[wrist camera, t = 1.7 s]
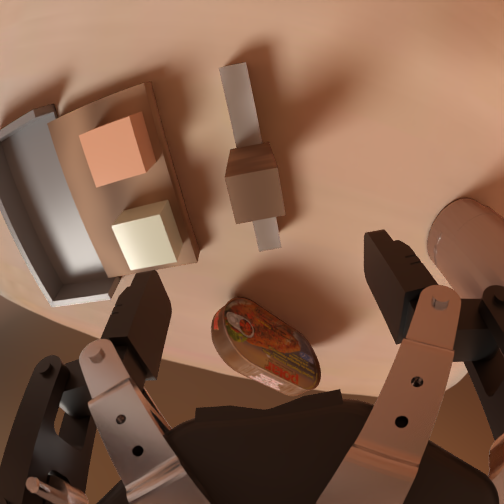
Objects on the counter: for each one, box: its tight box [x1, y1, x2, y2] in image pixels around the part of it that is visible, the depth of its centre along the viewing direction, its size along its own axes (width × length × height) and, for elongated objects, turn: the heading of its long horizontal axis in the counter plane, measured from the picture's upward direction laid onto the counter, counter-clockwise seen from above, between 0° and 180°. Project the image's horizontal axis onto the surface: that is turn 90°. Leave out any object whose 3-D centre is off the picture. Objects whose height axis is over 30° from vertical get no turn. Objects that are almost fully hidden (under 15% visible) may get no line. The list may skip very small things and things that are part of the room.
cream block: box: [112, 200, 183, 270], centre depth 26 cm, size 4×4×3 cm
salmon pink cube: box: [79, 111, 156, 188], centre depth 22 cm, size 4×4×3 cm
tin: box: [211, 298, 321, 396], centre depth 33 cm, size 15×3×8 cm, turn 47°
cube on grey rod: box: [219, 62, 285, 252], centre depth 22 cm, size 3×16×10 cm, turn 11°
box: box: [0, 104, 121, 307], centre depth 27 cm, size 9×20×4 cm, turn 11°
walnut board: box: [47, 82, 200, 278], centre depth 26 cm, size 10×17×2 cm, turn 11°
